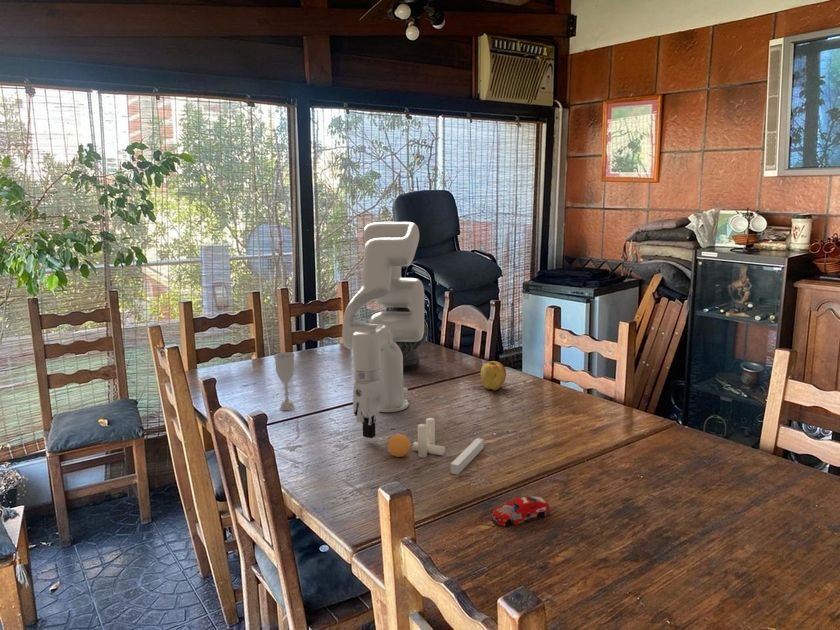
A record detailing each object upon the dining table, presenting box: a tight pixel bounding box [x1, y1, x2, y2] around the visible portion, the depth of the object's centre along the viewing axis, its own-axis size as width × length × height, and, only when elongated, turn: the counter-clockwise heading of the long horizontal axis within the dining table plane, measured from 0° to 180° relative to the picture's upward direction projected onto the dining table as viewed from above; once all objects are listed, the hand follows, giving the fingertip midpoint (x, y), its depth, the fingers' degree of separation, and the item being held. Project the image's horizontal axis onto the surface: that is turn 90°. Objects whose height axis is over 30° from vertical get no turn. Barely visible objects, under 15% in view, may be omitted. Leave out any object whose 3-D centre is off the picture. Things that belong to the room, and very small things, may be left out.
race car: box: [492, 495, 551, 528], centre depth 135 cm, size 13×5×4 cm, turn 111°
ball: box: [387, 433, 411, 458], centre depth 166 cm, size 6×6×6 cm
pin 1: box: [417, 423, 428, 459], centre depth 166 cm, size 2×2×8 cm
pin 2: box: [425, 417, 436, 445], centre depth 170 cm, size 2×2×8 cm
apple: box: [480, 360, 507, 391], centre depth 221 cm, size 9×9×10 cm
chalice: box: [273, 351, 296, 411], centre depth 203 cm, size 7×7×18 cm
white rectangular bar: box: [450, 437, 485, 475], centre depth 163 cm, size 18×2×2 cm, turn 154°
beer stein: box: [388, 307, 429, 372], centre depth 249 cm, size 16×19×25 cm
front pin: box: [412, 441, 446, 456], centre depth 168 cm, size 2×2×8 cm
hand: (369, 436), depth 176 cm, fingers closed
